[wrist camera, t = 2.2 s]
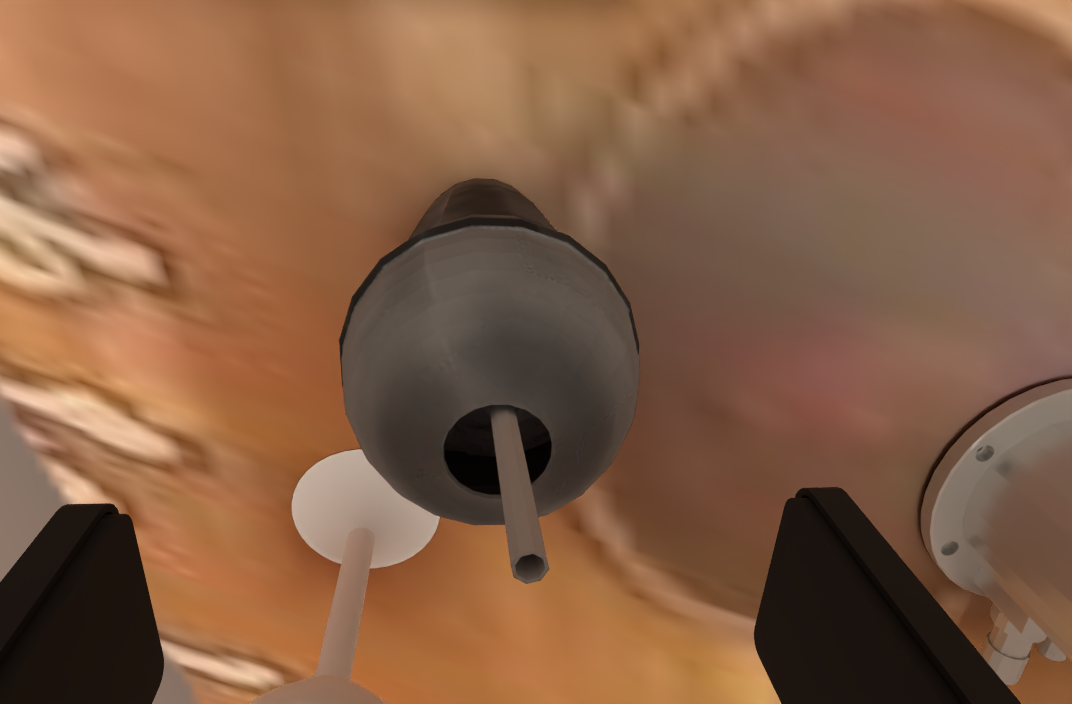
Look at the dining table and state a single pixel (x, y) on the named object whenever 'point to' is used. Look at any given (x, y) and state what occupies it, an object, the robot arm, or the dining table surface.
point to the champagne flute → (349, 562)
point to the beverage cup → (490, 366)
